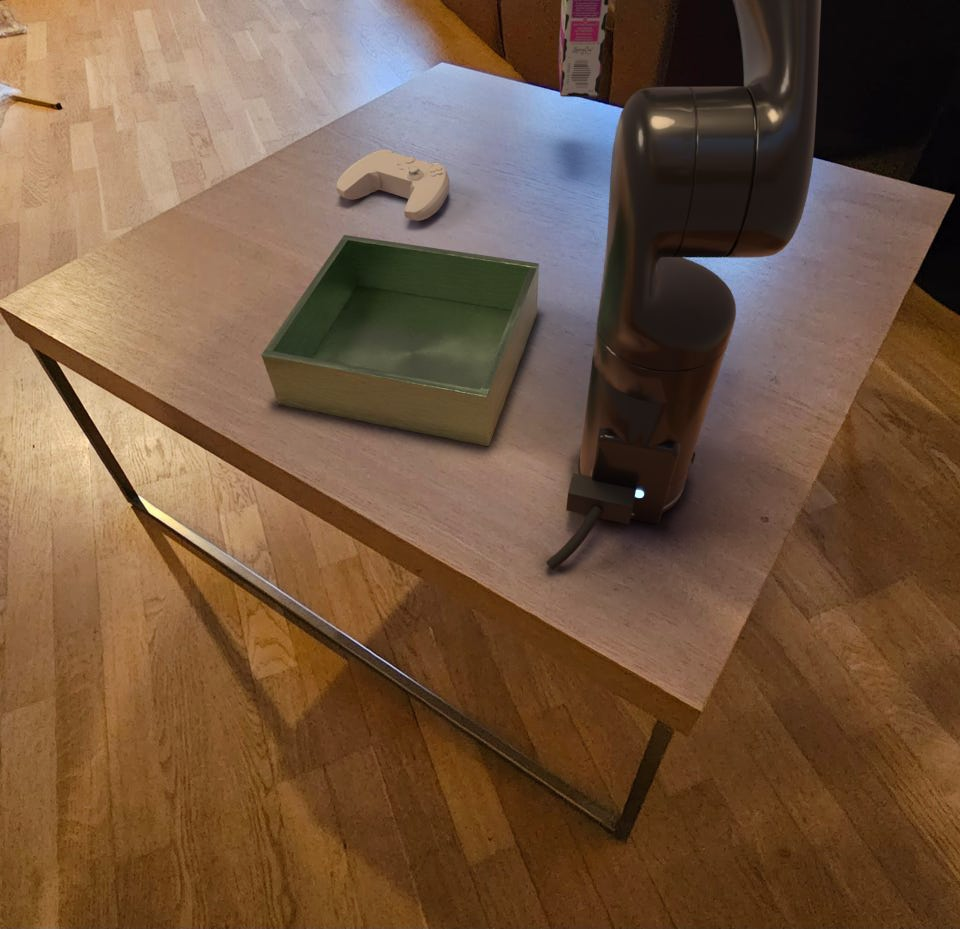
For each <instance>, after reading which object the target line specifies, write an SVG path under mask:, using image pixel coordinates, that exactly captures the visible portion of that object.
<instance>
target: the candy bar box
mask: <svg viewBox="0 0 960 929" xmlns="http://www.w3.org/2000/svg"><path fill="white" fill-rule="evenodd" d="M608 9H609V0H561V7H560V23H559V39H558V40H559V41H558V58H557V60H558V76H559V78H558V80H559V96H560V97H562V98H563V97H564V98H566V97H568V98H595V97H596V98H597V97H599V96H600V85H601V75H602V67H603V56H604V46H605V39H606V28H607V19H608V18H607V17H608V11H609V10H608Z"/></svg>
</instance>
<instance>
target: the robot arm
mask: <svg viewBox="0 0 960 929" xmlns="http://www.w3.org/2000/svg"><path fill="white" fill-rule="evenodd" d="M732 3H733V8H734V11H735V15H736V20H737V26H738V32H739V35H740V45H741V55H742V69H743V70H742V71H743V86H653V87H646V88H645V87H644V88H641V89H639V90H637V91H635V92H634V93H633V94H632V95H631V96H630V97H629V99H628V100H627V101H626V102H625V105H624V106H623V108H622V109H621V110H622V111H621V113H620V116H619V119H618V121H617V125H616V130H615V135H614V140H613V146H612V152H611V153H612V154H611V164H610V175H609V193H608V195H609V196H608V211H607V212H608V213H607V214H608V215H607V230H606V231H607V232H606V242H605V244H606V245H605V254H604V262H603V270H602V271H603V272H602V280H601V288H600V295H599V304H598V309H597V310H598V312H597V318H596V329H595V335H594V336H595V338H594V344H593V345H594V346H593V352H592V360H591V366H590V367H591V368H590V373H589V374H590V375H589V383H588V391H587V399H586V407H585V415H584V422H583V423H584V424H583V430H582V431H583V432H582V438H581V439H582V440H581V448H580V456H579V458H578V463H577V473H575V472H573V473H572V475H571V480H570V484H569V487H568V492H567V498H566V507H565V511H566V512H571V513H574V514H579V515H585V516H586V517H585V518H584V520H583V521H582V523H581V524H580V526H579V527H578V528H577V530H576V531H575V532H574V534H573V535H572V536H571V537H570V539H569V540H568V541H567V542H566V543H565V545H563V546H562V547H561V548H560V549H559V550H558V551H557V552H556V553H555V554H553V556H551V557H550V558H548V560H546V565H547V566H548V567H549V569H550V570H552V571H555V570H556V569H557V568H558V567H559V566H560V565H562V564H563V563H564V562H566V561H567V559H569V558H570V557H571V556H572V555H573V554H574V553H575V552H576V551H577V550H578V549H579V547H580V546H581V545H582V544H583V543H584V541H585V540H586V539H587V537H588V536H589V534H590V532H591V531H592V529H593V528H594V527H595V525H596V523H597V522H598V521H599V519H602V520H603V519H604V520H607V521H612V522H617V523H622V524H625V525H626V524H627V525H629V524H630V521H631V520H636V521H641V522H646V523H650V524H655V525H657V524H659V523H660V521H661V518H662V514H664V513H665V512H667V511H669V510H670V509H671V508H673V507H674V506H675V505H676V504H677V503H678V501H679V500H680V499H681V497H682V495H683V493H684V489H685V486H686V482H687V477H688V476H687V475H688V473H689V470H690V466H691V465H693V464H694V462H695V458H696V455H697V454H696V453H695V449H696V447H697V443H698V441H699V437H700V434H701V430H702V426H703V423H704V420H705V417H706V414H707V411H708V408H709V404H710V402H711V399H712V395H713V391H714V389H715V385H716V382H717V378H718V376H719V373H720V370H721V367H722V364H723V360H724V357H725V353H726V351H727V347H728V344H729V342H730V339H731V335H732V332H733V329H734V327H735V322H736V318H737V317H736V316H737V305H736V299H735V297H734V294H733V292H732V290H731V289H730V286H728V284H727V283H726V282H725V281H724V280H723V279H722V278H721V277H720V276H719V275H717V274H716V273H715V272H714V271H712V270H711V269H709V268H708V267H706V266H704V265H702V264H700V263H698V262H696V261H693V260H691V259H688V258H699V259H700V258H706V259H707V258H708V259H711V258H712V259H713V258H714V259H717V258H718V259H722V258H727V259H729V258H730V259H745V258H746V259H750V258H751V259H753V258H765V257H771V256H775V255H777V254H778V253H780V252H781V251H783V250H784V249H785V248H786V247H787V245H788V244H789V243H790V242H791V240H793V237H794V236H795V234H796V232H797V229H798V227H799V225H800V223H801V220H802V217H803V214H804V210H805V207H806V203H807V200H808V194H809V188H810V183H811V177H812V171H813V162H814V153H815V138H816V122H817V106H818V85H819V84H818V82H819V61H820V60H819V59H820V37H821V36H820V34H821V16H822V14H821V13H822V11H821V10H822V0H732Z"/></svg>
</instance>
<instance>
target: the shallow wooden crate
mask: <svg viewBox="0 0 960 929" xmlns="http://www.w3.org/2000/svg"><path fill="white" fill-rule="evenodd" d="M539 276H540V263H538V262H531V261H525V260H519V259H510V258H505V257H497V256H491V255H484V254H477V253H471V252H464V251H456V250H451V249H450V250H449V249H443V248H436V247H430V246H422V245H417V244H409V243H403V242H402V243H401V242H395V241H389V240H382V239H375V238H368V237H361V236H354V235H348V234H344V235H342V237H341V238H340V240H339V242H338V243H337V244H336V246H335V247H334V249H333V250H332V251H331V253H330V254H329V256H328V257H327V259H326V260H325V261H324V263H323V265H322V266H321V267H320V269H319V271H318V272H317V273H316V275H315V276H314V278H312V281H311V282H310V283H309V285H308V286H307V287H306V289H305V291H304V292H303V293H302V294H301V297H300V298H299V299H298V301H297V302H296V303H295V305H294V306H293V308H292V310H291V311H290V312H289V314H288V315H287V317H286V318H285V320H284V321H283V322H282V324H281V326H280V327H279V328H278V330H277V331H276V332H275V334H274V336H273V337H272V338H271V340H270V341H269V343H268V344H267V346H266V347H265V349H264V350H263V351H262V353H261V355H260V356H261V358H262V361H263V364H264V367H265V369H266V372H267V376H268V378H269V381H270V383H271V386H272V389H273V392H274V394H275V397H276V401H277V404H278V405H281V406H286V407H290V408H295V409H301V410H306V411H310V412H314V413H319V414H325V415H330V416H335V417H340V418H346V419H350V420H356V421H360V422H365V423H370V424H375V425H380V426H386V427H390V428H394V429H400V430H405V431H411V432H414V433H420V434H425V435H429V436H433V437H434V436H435V437H439V438H445V439H449V440H454V441H459V442H464V443H470V444H475V445H479V446H485V447H490V443H491V441H492V438H493V435H494V433H495V430H496V427H497V424H498V422H499V418H500V416H501V413H502V411H503V409H504V406H505V403H506V400H507V397H508V395H509V392H510V389H511V386H512V384H513V381H514V379H515V375H516V372H517V370H518V367H519V365H520V361H521V359H522V357H523V353H524V351H525V348H526V345H527V343H528V340H529V337H530V334H531V332H532V329H533V326H534V323H535V321H536V318H537V315H538V301H539V300H538V297H539Z"/></svg>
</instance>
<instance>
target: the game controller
mask: <svg viewBox="0 0 960 929" xmlns="http://www.w3.org/2000/svg"><path fill="white" fill-rule="evenodd" d="M335 186H336V192H337V194H338V195H339V196H340V197H342V198H344V199H347V200H357V199H361V198H363V197H365V196H368V195H370V194H372V193H374V192H378V190H379V191H382V192H386V193H389V194H393V195H396V196H398V197H402V198H404V199H407V202H406V205H405V206H404V216H405V218H406V219H408V220H412V221H424V220H427V219H428V218H430V217H432V216H434V214H436V213H437V212H438V211H439V210H440V209H441V208H442V206H443V204H444V203H445V201H446V200H447V199H446V198H447V197H448V194H449V190H450V177H449V175H448V171H447V169H446V167H445V166H443V165H442V164H440V163H437V162H433V163H431V162H429V161H424V160H420V159H417V158H415V157H414V156H406V155H403V154H399V153H395V152H394V151H393V150H390V149H379V150H376V151H374V152H371V153H369V154H367V155H365V156H363V157H362V158H360V159H359V160H357V161H355V162H354V163H353V164H352V165H350V166H349V167H348V168H347V169H346V170H345V171H344V172H343V173H342V174H340V176H339V178H338V179H337V182H336V185H335Z"/></svg>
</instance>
